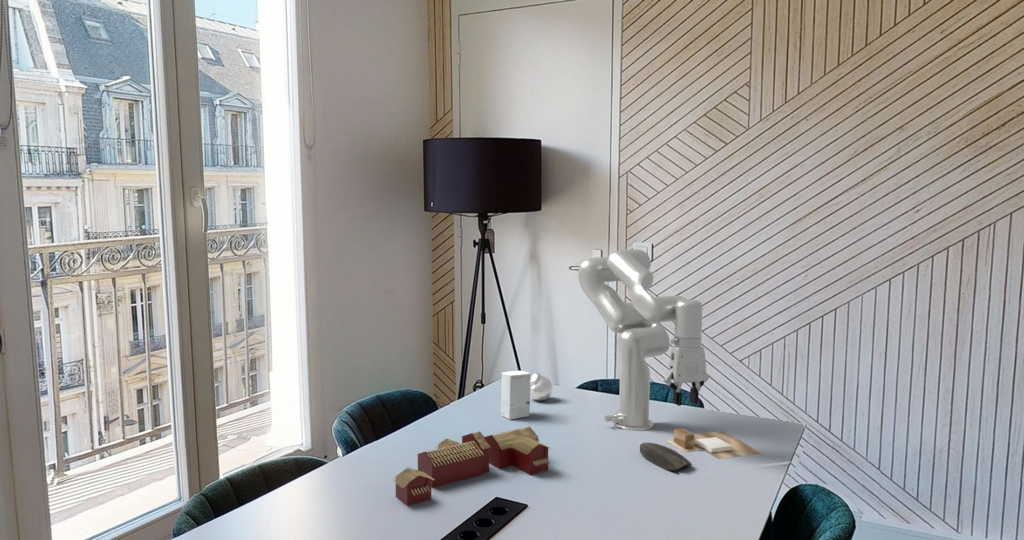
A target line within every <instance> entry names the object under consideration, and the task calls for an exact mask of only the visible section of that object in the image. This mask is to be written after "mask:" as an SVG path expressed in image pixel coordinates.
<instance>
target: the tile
mask: <svg viewBox="0 0 1024 540" xmlns="http://www.w3.org/2000/svg"><path fill="white" fill-rule="evenodd" d="M696 444H697V445H699V446H701V447H702V448H704V449H706V450H707V451H709V452H711V453H714V452H723V451H731V450H732V446H731V445H730V444H728V443H726V442H724V441H722V440H721V439H719V438H717V437H713V438H704V439H696Z"/></svg>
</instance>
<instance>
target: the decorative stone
mask: <svg viewBox="0 0 1024 540" xmlns="http://www.w3.org/2000/svg"><path fill="white" fill-rule="evenodd" d="M639 453H640V454H641V456H643V457H644V458H645V459H647V460H648V461H649V462H651V463H652V464H654V465H656V466H658V467H659V468H661V469H663V470H665V471H671V472H672V471H679V469H681V468H683V467H690V466H692V465H693V463H692V462H691V461H690V460H688V458H686V457H685V456H683V455H682V454H681V453H679V452H677V451H676V450H675V449H673V448H671V447H670V448H669V447H667V446H665V445H661V444H659V443H655V442H654V443H653V442H642V443H640V445H639Z"/></svg>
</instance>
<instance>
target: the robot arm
mask: <svg viewBox="0 0 1024 540" xmlns="http://www.w3.org/2000/svg"><path fill="white" fill-rule="evenodd" d="M651 261H652V260H651V258H650V256H649V254H648V253H647V252H646V251H644V250H642V249H636V248H635V249H634V248H633V249H620V250H619V249H617V250H615V251H613V252H612V253H610V254H609V256H601V257H600V256H598V257H591V258H590V257H589V258H588V259H585V260H583V261H582V262H581V263H580V265H579V267H578V274H577V275H578V282H579V286H580V288H581V290H582V291H583V293H584V294H585V296H586V297H587V298H588V299H589V300H590V301H591V303H592V304H593V305H594V306H595V308H596V309H597V311H598V313H599V315H600V316H601V317H602V319H603V321H604V322H605V323H606V325H607V327H608V328H609V329H610V331H612V332H614V333H616V334H619V335H618V337H617V339H616V340H617V342H616V343H617V346H616V347H617V352H618V359H619V392H618V393H619V394H618V395H619V397H618V399H619V400H618V402H619V403H618V410H616V411H615V413H613V415H612V414H609V415H606V414H605V416H604V421H605V422H606V423H607V422H611V423H612V424H613V425H614V428H618V429H621V430H625V431H632V432H641V431H648V430H651V429H653V428H654V426H655V425H654V422H653V421H652V420H650V389H651V388H650V387H651V371H650V368H649V366H648V364H647V362H646V358H652V357H653V358H654V357H659V356H662V355H665V354H666V353H667V352H668V351H669V350H670V346H671V345H674V346H672V347H671V352H670V357H669V363H668V364H669V365H668V373H667V374H666V375H665V377H664V378H663V382H664V383H665V384H666V385H668V387H670V389H671V390H672V391H673V396H672V397H673V399H672V401H673V403H674V405H676V406H678V407H681V406H682V403H683V402H682V398H683V393H682V391H681V390H682V385H683V384H687V383H690V384H691V387H690V389H689V402H690V403H692V404H693V405H698V403H699V391H701V388H702V387H703V386H704V385H705V383H706V382H708V381H709V379H710V376H709V375H708V373H707V362H706V353H705V349H704V347H703V346H702V333H703V332H702V328H703V327H702V324H703V304H702V302H701V301H700V300H697V299H689V298H686V297H684V296H681V295H666V296H664V295H663V296H653V295H652V294H650V292H649V289H650V288H652V287H651V286H652V285H653V283H654V275H653V273H652V271H650V269H651V265H652V264H651V263H652V262H651ZM608 282H609V283H612V282H621V283H622V284H623V285H624V286H626V287H627V289H629V290H630V302H625V301H624V300H623V299H622V298H621V297H620V295H619V294H618V292H617V291H616V290H615V289H614V288H613V287H611V286H610V285H608V284H607V283H608ZM664 322H665V323H666V322H667V323H668V322H675V323H674V336H673V338H672V339H671V340H670V335H669V333H668V332H667V330H666V328H665V327H664V325H663V324H662V323H664Z"/></svg>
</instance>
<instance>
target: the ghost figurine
mask: <svg viewBox="0 0 1024 540" xmlns="http://www.w3.org/2000/svg"><path fill="white" fill-rule="evenodd" d="M552 394H553V384H552V381H551V380H550V379H549V378H548V377H546V376H544V375H542V374H541V373H540V372H538V373H536V372H535V373H533V374H532V375H530V398H532V399H534V400H535V401H537V402H538V401H540V402H542V401H545V400H547V399H549V398H550V397H551V395H552Z"/></svg>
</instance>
